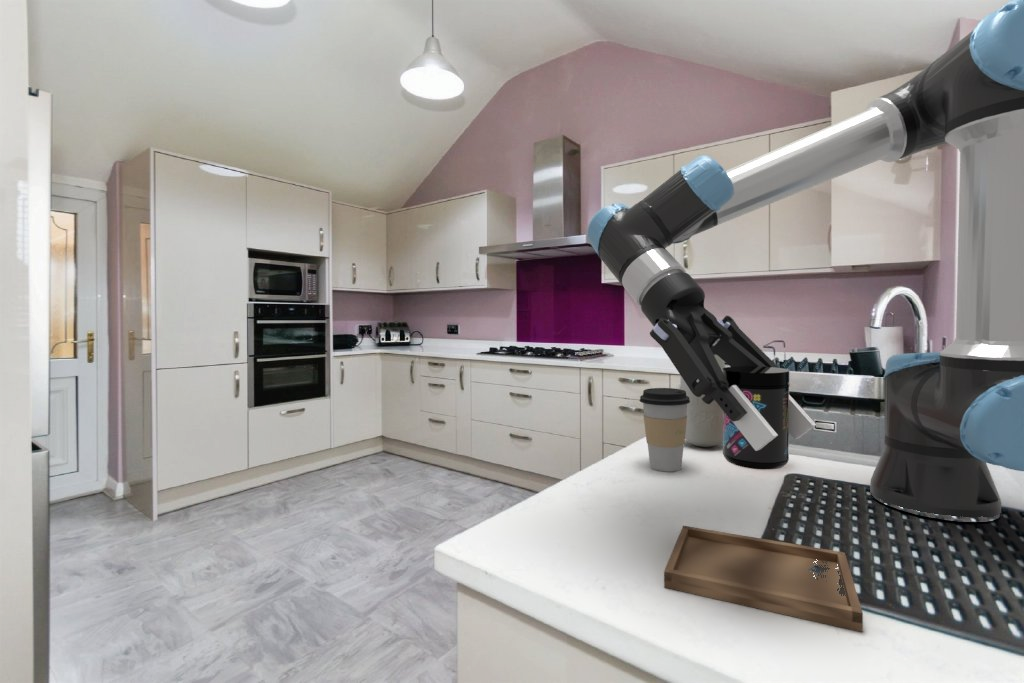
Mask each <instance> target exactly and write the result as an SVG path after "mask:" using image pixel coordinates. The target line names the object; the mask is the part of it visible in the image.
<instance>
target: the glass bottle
mask: <svg viewBox="0 0 1024 683" xmlns="http://www.w3.org/2000/svg"><path fill="white" fill-rule="evenodd" d="M719 340H720V338H718V339H717V341H716V342H715V343H714V344H713V346H715V344H716V343H717V342H718V341H719ZM714 356H715V358H716V360H717V362H718V364H719V366H720V368H721V370H722V369H723V368H726V365H725V364H726V362H725V361H723V360H722V359H721V358H720V357H719V356H718V355H714ZM696 381H697V383H698V382H699V379H697V380H696ZM680 389H681V390H685V391H686V396H688V397H689V398H690V399H689V400H690V403H688V404H687V424H686V434H685V441H687V443H689V444H691V445H694V446H696V447H699V448H700V447H702V448H708V447H709V448H710V447H716V446H718V445H720V444H721V443H722V444H723V410H722V409H721V407H720V406H719V405H718V404H717V402H716V401H715V400H714V401H712V402H711V403H710V404H706V403H705V402H704V401H703V400H702V398H703V397H704V396H705V395H702V396H701V397H697V396H695V395H694V394H693V393H692V392H691V390H690V389H689V387H688V386H687V384H686V383H685V381H684V380H683V378H682V377H681V376H680Z"/></svg>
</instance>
